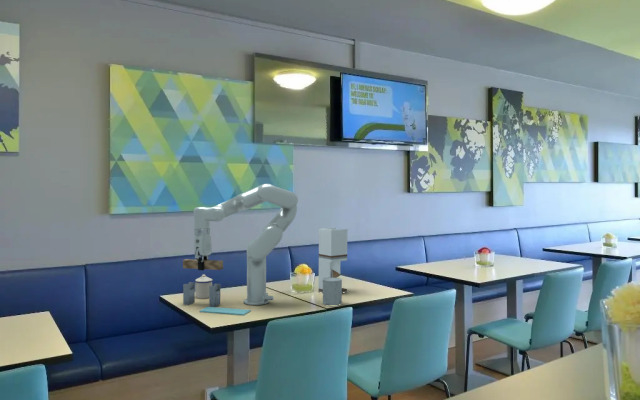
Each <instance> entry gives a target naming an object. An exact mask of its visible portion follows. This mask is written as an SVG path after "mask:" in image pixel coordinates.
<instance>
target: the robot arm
mask: <svg viewBox="0 0 640 400" xmlns="http://www.w3.org/2000/svg"><path fill="white" fill-rule="evenodd" d="M266 202H267V203H270V204H273V205H275V206H278V207H280V209H279V210H278V212H277V213H276V214H275V216H274V217H273V218H272V219H270V221H269V222H268V223H267V224H266V225H265V226H264V227H263V229H262V231H261V232H260V234H259V235H258V236H257V237H256V238H255V239H252V240H250V241H249V242H248V244H247V246H246V298H245V299H244V300H243V303H244V304H245V305H249V306H261V305H266V304H269V303H270V301H274V299H275V297H274V296H273V295H269V293H268V292H267V256H269V254H270V253H271V252H273V250H274V249H275V247H277V246H278V245H279V244H280V242H281V240H282V239H283V236H284V235H283V234H284V232H285V231H286V230H287V229H288V228H289V226H291V224H292V223H293V222H294V220H295V217H296V215H297V213H298V212H297V209H298V206H297V204H298V202H299V199H298V196H297V194H296V193H295V192H293V191H292V190H291V191H290V190H287V189H284V188H281V187H278V186H275V185H273V184H271V183H263V184H260V185H258V186H255V187H254V188H251V189H249V190H246V191H245V192H242V193H239V194H237V195H236V196H235V197H232V198H230V199H227V200H226V201H223V202H221V203H219V204H217V205H214V206H212V207H211V206H210V207H208V206H197V207H194V209H193V227H194V228H193V233H194V234H193V235H194V236H193V237H194V244H193V252H194V259H195V260H197V262H198V269H197V271H205V269H204V262H203V260H210V259H209V257H210V255H211V254H212V253H213V246H212V245H213V244H212V236H211V224H210V222H216V223H218V222H221V221H223V220H224V219H225V218H228V217H230V216H232V215H234V214H237V213H239V212H240V213H241V212H246V211H248V210H250V209H252V208H254V207H257V206H259V205H261V204H263V203H266Z"/></svg>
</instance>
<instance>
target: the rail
mask: <svg viewBox="0 0 640 400" xmlns="http://www.w3.org/2000/svg"><path fill="white" fill-rule="evenodd" d="M203 262H204V270H214V271H222V270H224V260H216V259H214V260H213V259H209V260H203ZM182 268H183V269H193V270H198V262H197V259H196V258H194V259H193V258H191V259H190V258H186V259H182Z"/></svg>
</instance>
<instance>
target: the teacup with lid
mask: <svg viewBox="0 0 640 400" xmlns="http://www.w3.org/2000/svg"><path fill="white" fill-rule="evenodd" d="M194 282H195V298H196V299H199V298H200V299H203V300H204V299H209V286H213V282H214V280H213V279H212V278H210V277H208V276H206V274H202V275H201V276H200V277H198V278H196V279H195V280H194Z"/></svg>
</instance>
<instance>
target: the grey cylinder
mask: <svg viewBox="0 0 640 400" xmlns="http://www.w3.org/2000/svg"><path fill="white" fill-rule="evenodd" d="M342 288H343V279H342V278H339V277H337V278H324V279H323V293H322V305H323V304H325V305H324V306H326V305H339V304H341V303H342V304H343V301H342V298H343V297H342V295H343V294H342ZM339 306H340V305H339Z"/></svg>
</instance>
